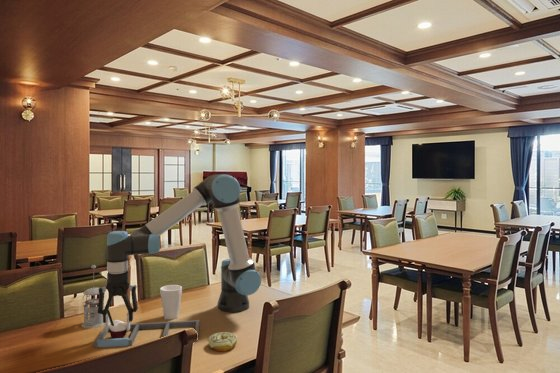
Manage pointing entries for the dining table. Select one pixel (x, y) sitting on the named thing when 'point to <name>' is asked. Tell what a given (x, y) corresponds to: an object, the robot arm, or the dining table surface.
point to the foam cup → (171, 300)
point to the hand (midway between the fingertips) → (118, 330)
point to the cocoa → (117, 327)
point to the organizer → (135, 327)
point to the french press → (92, 308)
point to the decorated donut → (222, 341)
